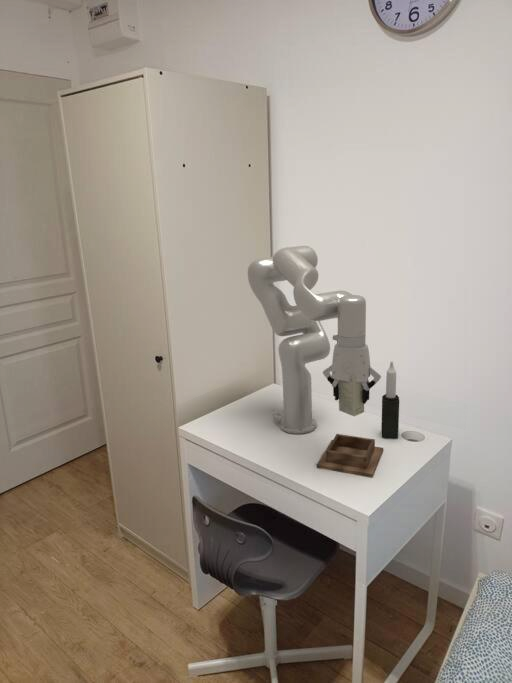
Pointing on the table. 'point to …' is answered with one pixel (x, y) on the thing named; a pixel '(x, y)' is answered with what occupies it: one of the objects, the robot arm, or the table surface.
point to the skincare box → (351, 396)
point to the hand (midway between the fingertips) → (351, 399)
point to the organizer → (351, 455)
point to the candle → (390, 406)
